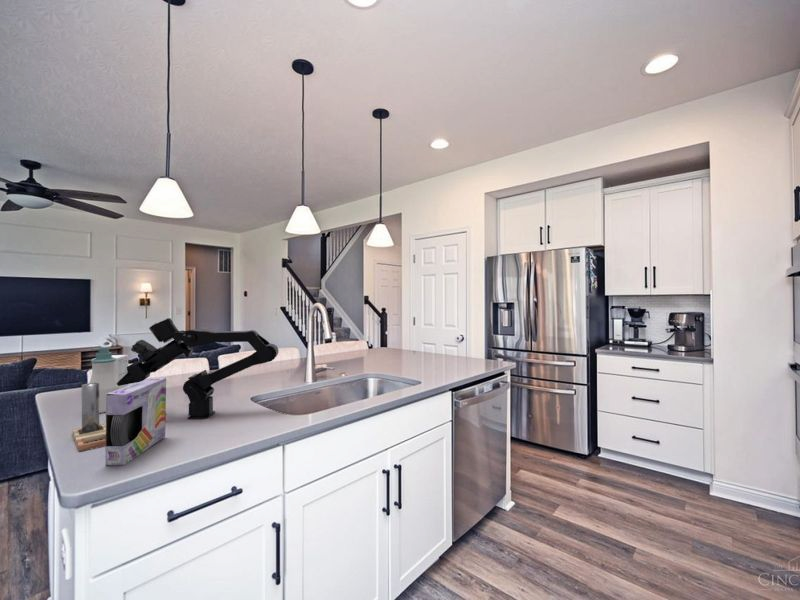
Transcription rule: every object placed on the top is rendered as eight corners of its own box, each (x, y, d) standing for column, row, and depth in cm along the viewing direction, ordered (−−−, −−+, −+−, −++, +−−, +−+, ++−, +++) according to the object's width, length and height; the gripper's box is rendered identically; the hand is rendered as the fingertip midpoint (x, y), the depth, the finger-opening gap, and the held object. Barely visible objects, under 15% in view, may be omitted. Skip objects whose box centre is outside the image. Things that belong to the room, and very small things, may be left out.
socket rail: (114, 443, 100) (114, 438, 101) (78, 451, 95) (78, 446, 95) (104, 428, 113) (104, 423, 113) (72, 434, 108) (72, 429, 108)
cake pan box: (122, 467, 86) (122, 393, 86) (99, 468, 85) (99, 393, 86) (167, 437, 105) (167, 376, 105) (149, 438, 105) (149, 376, 105)
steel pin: (102, 432, 110) (102, 382, 110) (93, 437, 106) (92, 385, 106) (88, 432, 109) (88, 383, 109) (78, 437, 105) (78, 386, 105)
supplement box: (104, 394, 156) (104, 355, 156) (129, 392, 158) (129, 354, 158) (91, 400, 147) (91, 358, 147) (117, 398, 149) (117, 357, 149)
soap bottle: (80, 412, 130) (79, 348, 130) (110, 405, 139) (110, 345, 139) (96, 415, 126) (96, 350, 126) (126, 407, 135) (126, 346, 135)
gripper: (163, 329, 130) (121, 354, 128) (140, 339, 112) (91, 368, 110) (182, 354, 132) (142, 379, 130) (163, 367, 114) (116, 397, 112)
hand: (124, 380), depth 120 cm, fingers open, 9 cm apart
